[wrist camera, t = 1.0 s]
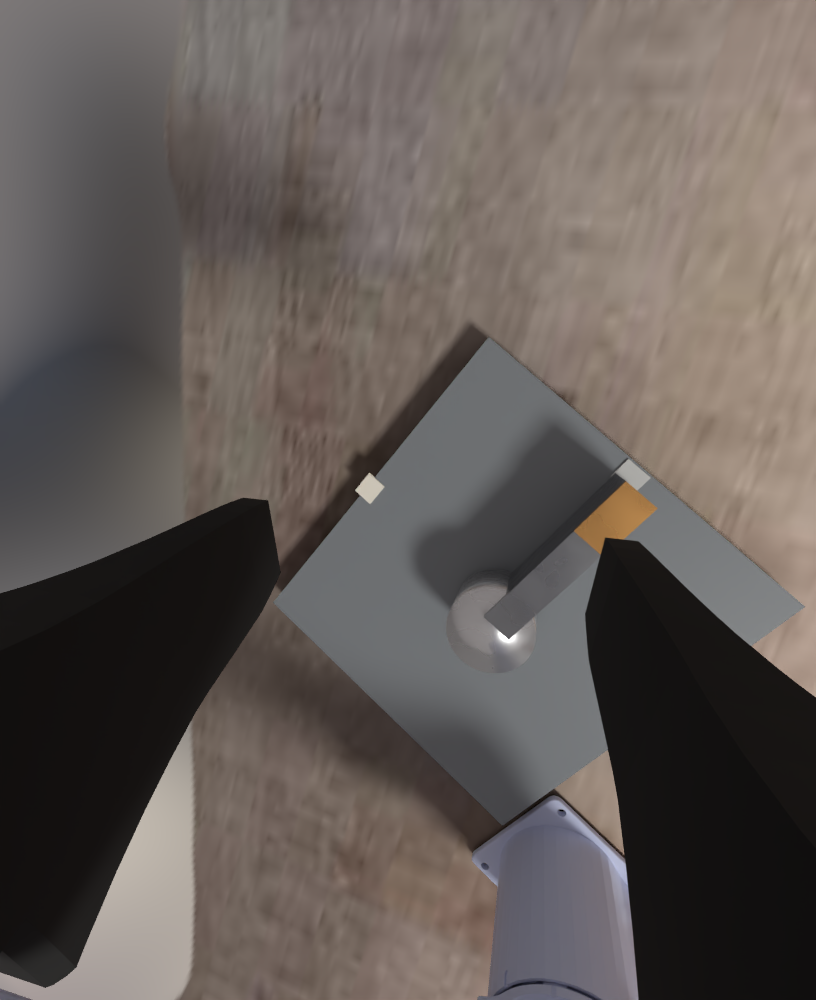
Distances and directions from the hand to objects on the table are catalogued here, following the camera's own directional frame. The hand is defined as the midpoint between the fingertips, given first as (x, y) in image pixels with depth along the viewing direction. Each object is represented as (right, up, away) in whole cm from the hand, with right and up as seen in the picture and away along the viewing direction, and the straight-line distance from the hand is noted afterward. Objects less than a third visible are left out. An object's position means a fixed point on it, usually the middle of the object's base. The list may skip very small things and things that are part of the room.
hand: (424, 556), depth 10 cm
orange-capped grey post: (+7, -2, +15) cm, 16 cm away
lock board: (+5, -4, +17) cm, 19 cm away
